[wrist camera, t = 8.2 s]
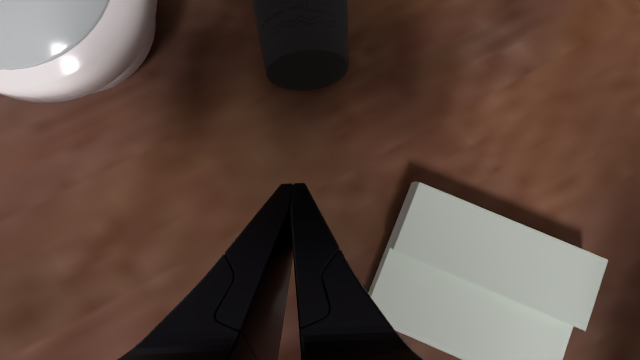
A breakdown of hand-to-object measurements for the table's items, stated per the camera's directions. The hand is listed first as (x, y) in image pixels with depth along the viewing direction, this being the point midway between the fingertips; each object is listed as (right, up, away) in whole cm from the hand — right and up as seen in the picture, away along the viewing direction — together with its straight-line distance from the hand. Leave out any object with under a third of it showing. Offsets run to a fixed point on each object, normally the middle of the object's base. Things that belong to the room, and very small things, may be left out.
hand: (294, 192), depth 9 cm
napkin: (+11, -6, +7) cm, 15 cm away
